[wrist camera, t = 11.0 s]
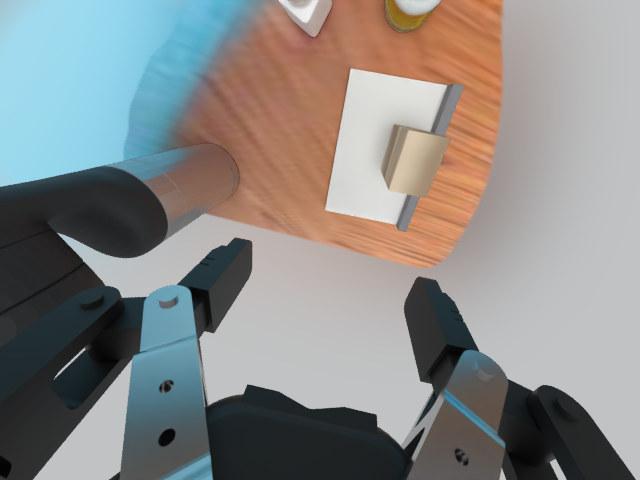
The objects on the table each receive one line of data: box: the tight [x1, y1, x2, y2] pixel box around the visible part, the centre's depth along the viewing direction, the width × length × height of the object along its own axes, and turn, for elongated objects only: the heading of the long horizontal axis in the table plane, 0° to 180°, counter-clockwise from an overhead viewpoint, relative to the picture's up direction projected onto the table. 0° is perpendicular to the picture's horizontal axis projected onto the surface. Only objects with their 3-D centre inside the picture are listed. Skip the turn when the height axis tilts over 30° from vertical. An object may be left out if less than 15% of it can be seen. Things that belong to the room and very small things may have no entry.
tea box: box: [380, 124, 451, 198], centre depth 28 cm, size 4×6×10 cm
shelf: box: [325, 69, 464, 232], centre depth 33 cm, size 13×19×4 cm
